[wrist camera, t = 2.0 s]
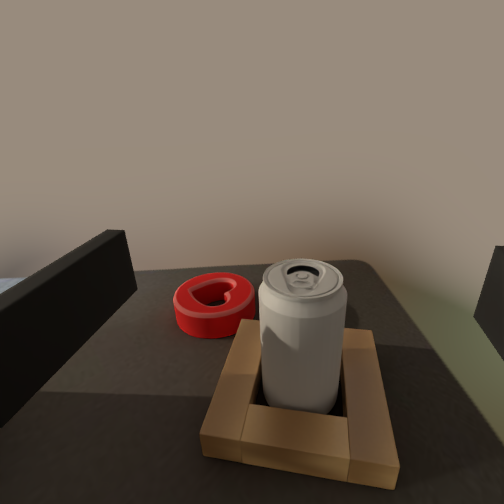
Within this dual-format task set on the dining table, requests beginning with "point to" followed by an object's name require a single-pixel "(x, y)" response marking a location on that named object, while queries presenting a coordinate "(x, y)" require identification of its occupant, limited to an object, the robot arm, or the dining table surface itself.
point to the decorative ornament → (214, 317)
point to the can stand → (304, 418)
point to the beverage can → (302, 334)
